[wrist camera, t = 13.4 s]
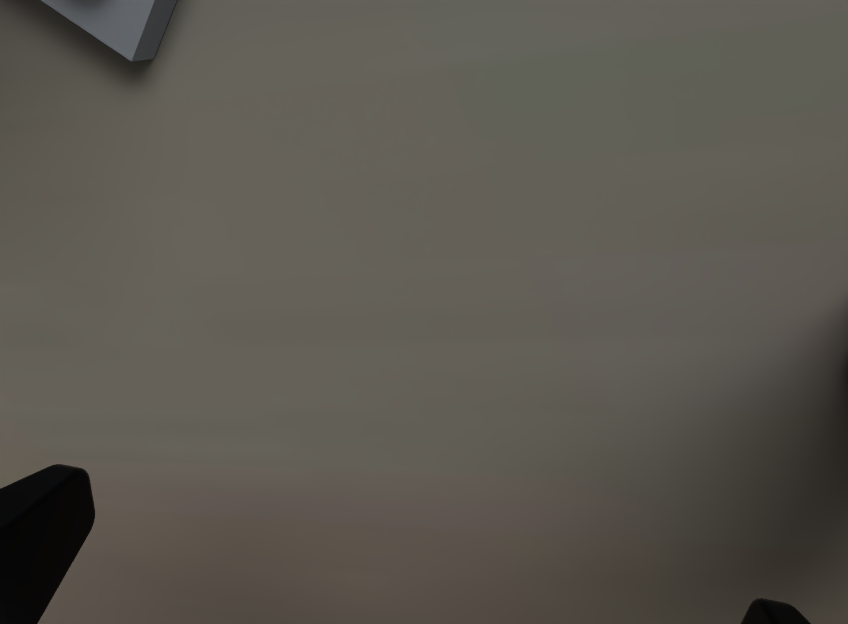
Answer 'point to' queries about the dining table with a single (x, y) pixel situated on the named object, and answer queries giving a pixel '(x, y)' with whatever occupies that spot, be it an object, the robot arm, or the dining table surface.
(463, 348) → the dining table surface
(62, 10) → the tower base
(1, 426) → the dining table surface
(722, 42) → the dining table surface
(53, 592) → the robot arm
